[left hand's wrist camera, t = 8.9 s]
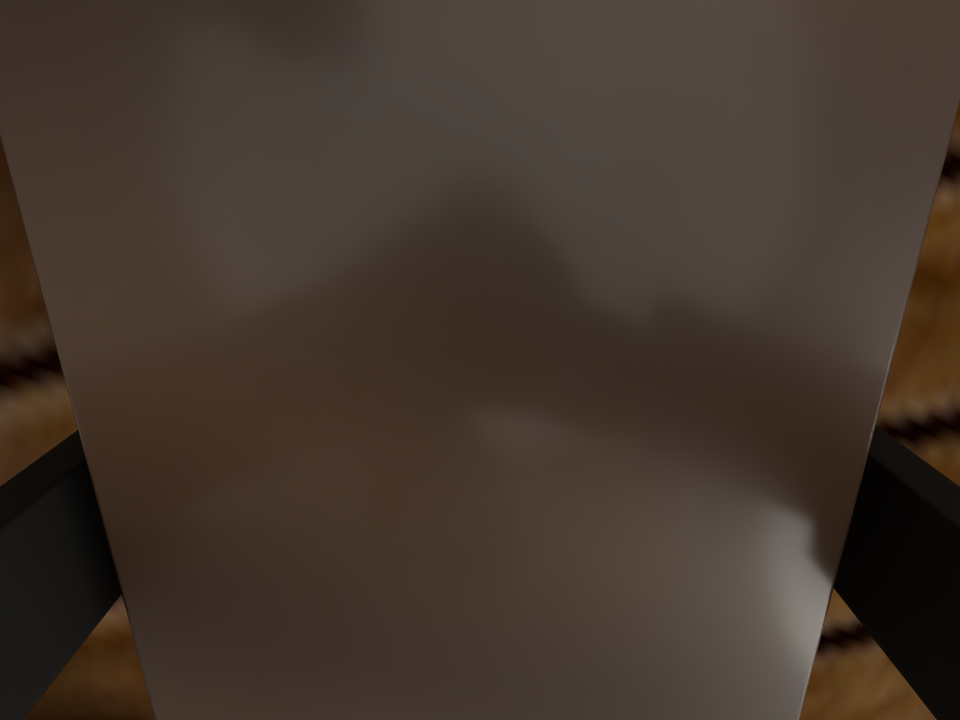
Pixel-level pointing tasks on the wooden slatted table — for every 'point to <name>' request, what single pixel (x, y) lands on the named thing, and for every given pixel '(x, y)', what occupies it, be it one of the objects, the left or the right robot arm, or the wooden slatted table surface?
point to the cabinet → (477, 334)
